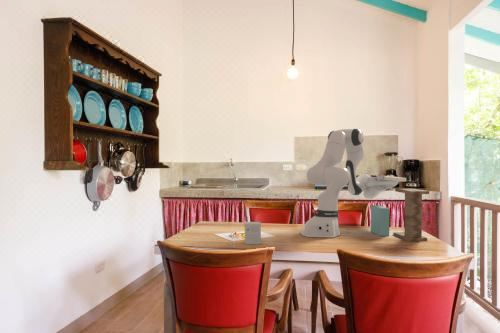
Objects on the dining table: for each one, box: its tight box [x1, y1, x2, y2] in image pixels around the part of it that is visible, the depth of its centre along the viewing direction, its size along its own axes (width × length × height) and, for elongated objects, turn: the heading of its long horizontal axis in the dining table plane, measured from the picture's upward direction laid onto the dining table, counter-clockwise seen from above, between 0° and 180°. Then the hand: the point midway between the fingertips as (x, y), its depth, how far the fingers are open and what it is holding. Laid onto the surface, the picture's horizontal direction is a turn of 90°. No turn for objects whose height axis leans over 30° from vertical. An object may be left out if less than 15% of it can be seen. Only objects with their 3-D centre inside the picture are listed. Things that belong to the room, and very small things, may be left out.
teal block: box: [370, 204, 390, 237], centre depth 189 cm, size 5×12×16 cm, turn 5°
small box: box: [244, 221, 262, 245], centre depth 167 cm, size 8×6×10 cm
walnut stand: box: [392, 188, 430, 242], centre depth 177 cm, size 11×16×26 cm
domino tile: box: [383, 175, 407, 183], centre depth 196 cm, size 4×22×2 cm, turn 5°
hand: (387, 175), depth 202 cm, fingers closed on domino tile, 4 cm apart
